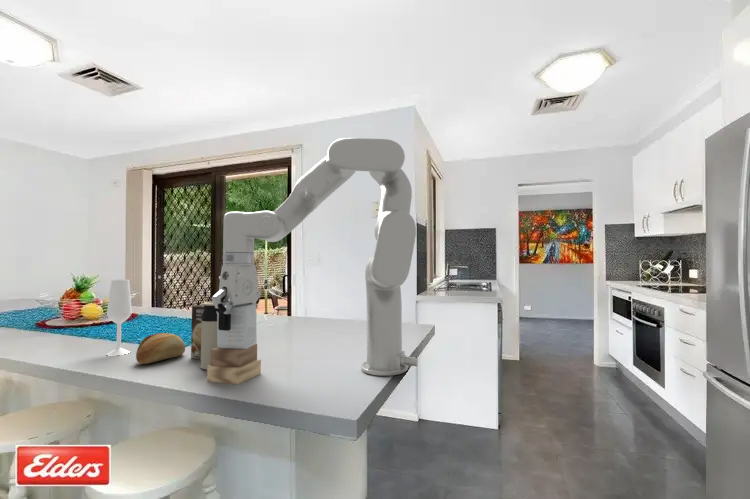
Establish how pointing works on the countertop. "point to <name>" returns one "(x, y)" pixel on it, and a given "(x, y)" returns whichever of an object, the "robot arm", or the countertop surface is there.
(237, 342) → the small box
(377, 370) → the robot arm
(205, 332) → the travel mug
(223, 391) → the countertop surface
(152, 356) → the bread roll
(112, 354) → the champagne flute
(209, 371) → the oak slab
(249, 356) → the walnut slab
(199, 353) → the coffee box
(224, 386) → the countertop surface
